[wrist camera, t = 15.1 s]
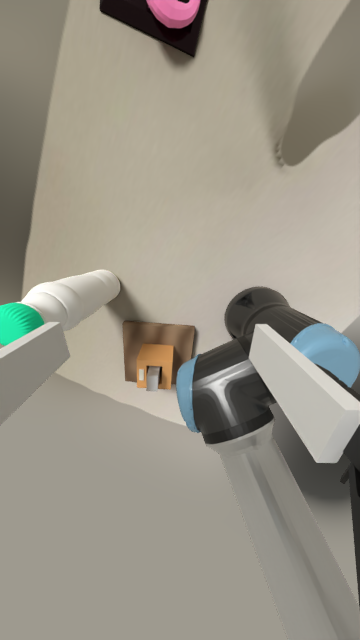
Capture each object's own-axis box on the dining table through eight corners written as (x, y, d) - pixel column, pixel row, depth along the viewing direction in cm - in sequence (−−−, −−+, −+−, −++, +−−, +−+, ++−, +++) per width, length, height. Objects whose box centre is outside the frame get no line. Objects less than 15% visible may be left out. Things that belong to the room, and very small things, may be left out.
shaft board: (194, 325, 44) (199, 351, 33) (187, 379, 51) (189, 415, 40) (124, 320, 43) (106, 344, 32) (127, 376, 50) (112, 411, 39)
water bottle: (93, 298, 41) (-18, 358, 18) (89, 268, 38) (-48, 293, 15) (122, 300, 41) (49, 362, 18) (120, 270, 39) (31, 298, 15)
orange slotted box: (171, 370, 47) (170, 390, 40) (142, 368, 47) (136, 388, 40) (173, 345, 44) (172, 362, 37) (142, 343, 44) (136, 360, 37)
